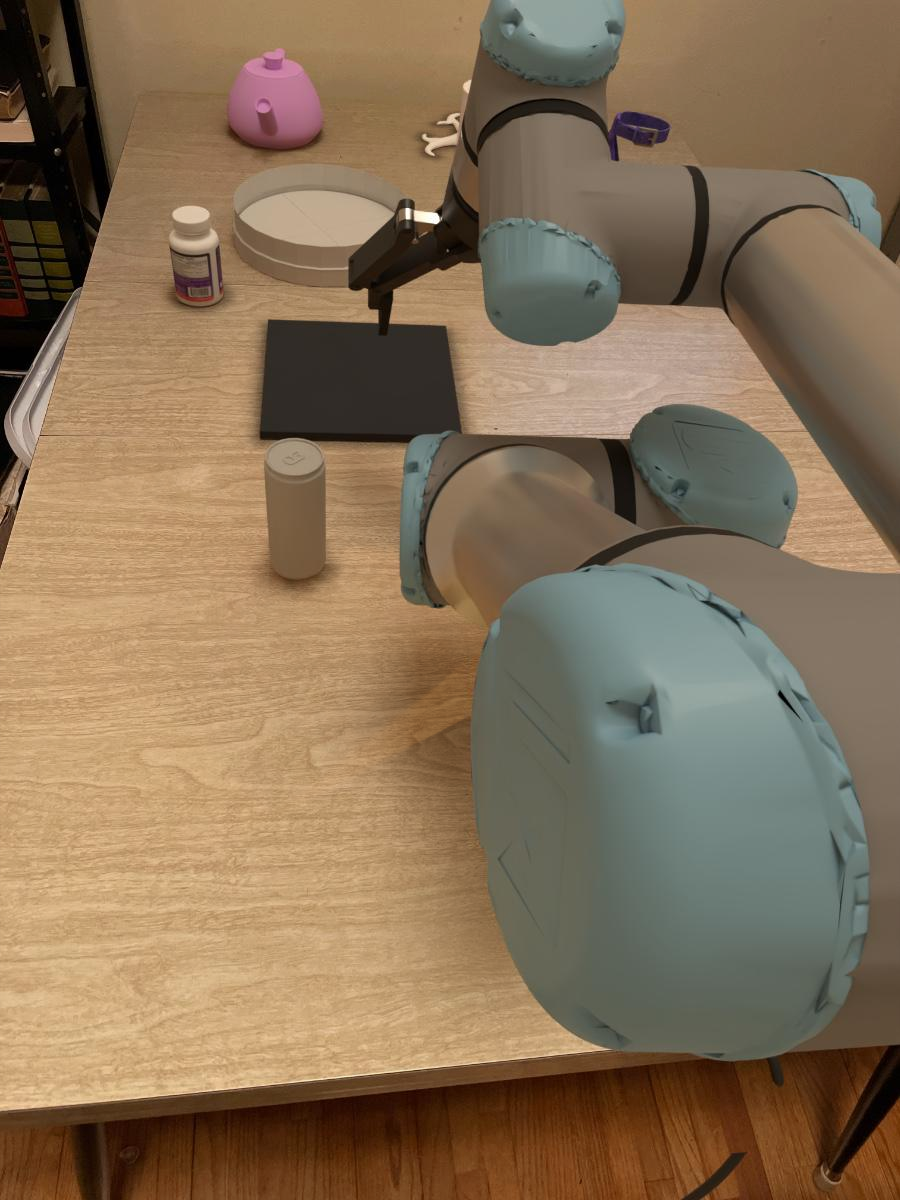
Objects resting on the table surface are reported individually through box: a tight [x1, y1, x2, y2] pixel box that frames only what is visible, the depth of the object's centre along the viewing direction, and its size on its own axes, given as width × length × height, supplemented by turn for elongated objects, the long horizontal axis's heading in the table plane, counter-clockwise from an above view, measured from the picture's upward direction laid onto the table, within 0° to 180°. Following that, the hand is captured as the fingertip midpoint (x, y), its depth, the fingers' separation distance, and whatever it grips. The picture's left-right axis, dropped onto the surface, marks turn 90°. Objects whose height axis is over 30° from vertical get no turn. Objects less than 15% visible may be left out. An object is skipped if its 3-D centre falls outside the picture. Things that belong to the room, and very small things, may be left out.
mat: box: [259, 318, 463, 443], centre depth 102 cm, size 20×20×1 cm
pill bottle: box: [168, 205, 224, 308], centre depth 107 cm, size 5×5×10 cm
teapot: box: [226, 47, 324, 150], centre depth 138 cm, size 14×20×11 cm
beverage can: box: [263, 438, 327, 581], centre depth 79 cm, size 5×5×12 cm
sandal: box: [608, 110, 672, 161], centre depth 126 cm, size 8×20×15 cm, turn 78°
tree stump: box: [421, 79, 472, 157], centre depth 143 cm, size 20×19×8 cm
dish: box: [232, 163, 408, 288], centre depth 120 cm, size 22×22×5 cm
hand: (458, 325), depth 86 cm, fingers open, 13 cm apart
